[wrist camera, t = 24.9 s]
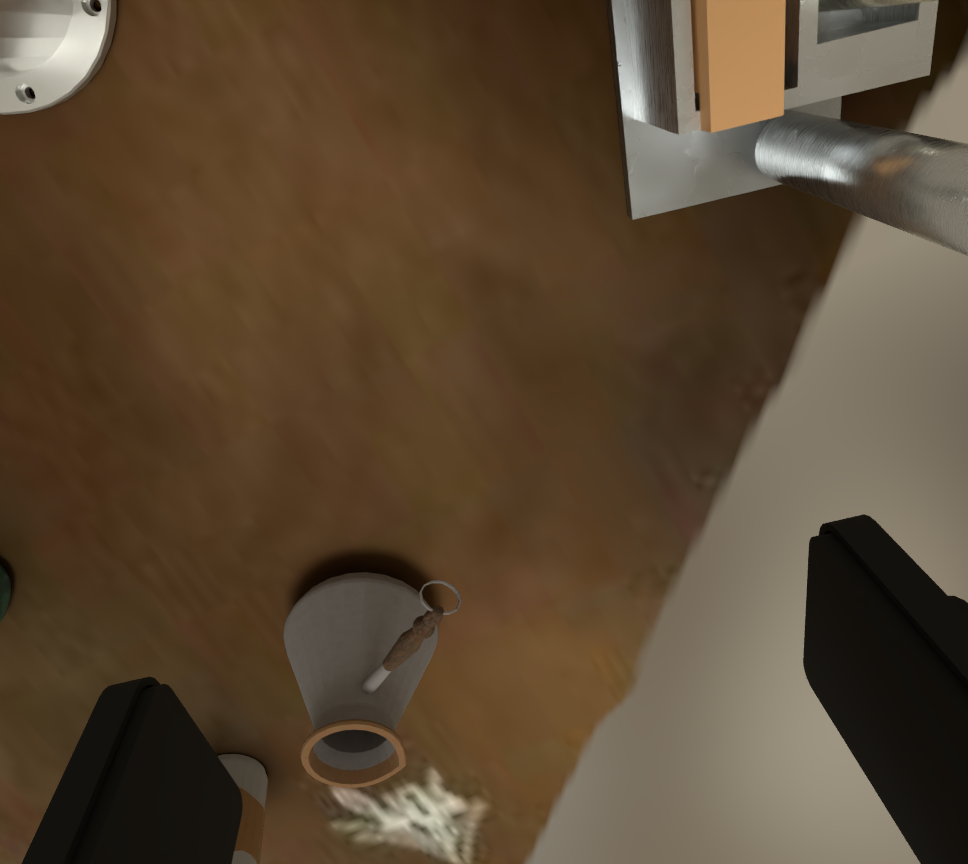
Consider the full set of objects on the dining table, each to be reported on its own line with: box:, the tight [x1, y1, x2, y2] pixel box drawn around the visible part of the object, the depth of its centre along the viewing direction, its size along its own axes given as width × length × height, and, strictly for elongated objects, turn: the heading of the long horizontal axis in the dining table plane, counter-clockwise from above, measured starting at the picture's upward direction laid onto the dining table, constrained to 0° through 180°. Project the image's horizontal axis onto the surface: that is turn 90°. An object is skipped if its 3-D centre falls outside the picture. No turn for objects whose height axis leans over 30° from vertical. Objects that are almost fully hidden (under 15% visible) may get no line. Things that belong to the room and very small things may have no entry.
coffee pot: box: [283, 572, 461, 788], centre depth 45 cm, size 21×12×15 cm, turn 157°
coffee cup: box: [218, 754, 268, 864], centre depth 56 cm, size 8×8×15 cm
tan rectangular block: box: [690, 0, 786, 133], centre depth 31 cm, size 9×3×8 cm, turn 12°
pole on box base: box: [606, 0, 968, 256], centre depth 28 cm, size 15×12×20 cm
